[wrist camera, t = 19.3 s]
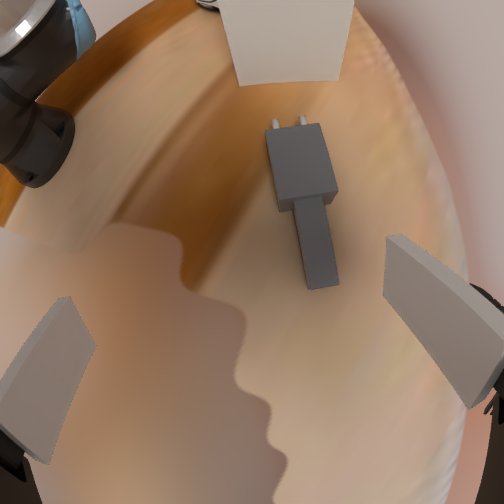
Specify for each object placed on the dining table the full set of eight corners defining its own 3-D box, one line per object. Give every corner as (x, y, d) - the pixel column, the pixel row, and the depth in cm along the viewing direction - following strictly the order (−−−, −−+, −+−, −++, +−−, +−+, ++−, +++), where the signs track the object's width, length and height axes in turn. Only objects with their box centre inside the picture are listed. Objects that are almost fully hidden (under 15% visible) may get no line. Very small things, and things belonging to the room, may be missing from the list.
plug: (345, 281, 30) (356, 281, 25) (293, 291, 30) (295, 293, 25) (311, 130, 32) (314, 108, 27) (264, 137, 33) (261, 116, 28)
